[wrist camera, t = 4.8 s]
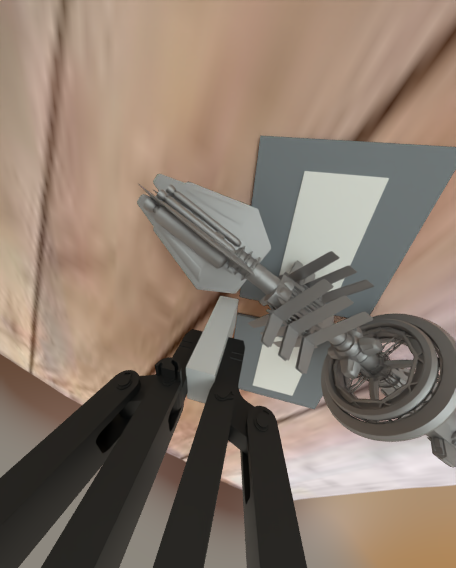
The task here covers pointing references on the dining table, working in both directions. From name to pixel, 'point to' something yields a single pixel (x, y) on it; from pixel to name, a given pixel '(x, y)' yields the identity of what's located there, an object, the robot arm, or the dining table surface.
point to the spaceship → (316, 318)
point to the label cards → (334, 233)
